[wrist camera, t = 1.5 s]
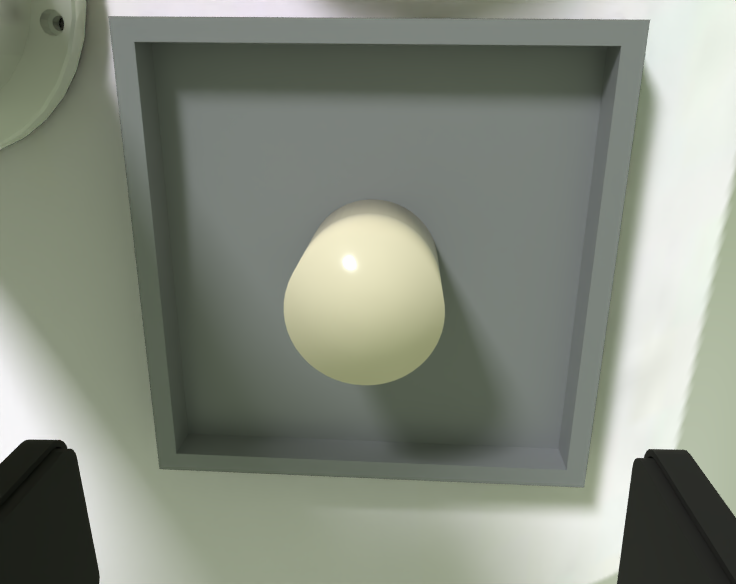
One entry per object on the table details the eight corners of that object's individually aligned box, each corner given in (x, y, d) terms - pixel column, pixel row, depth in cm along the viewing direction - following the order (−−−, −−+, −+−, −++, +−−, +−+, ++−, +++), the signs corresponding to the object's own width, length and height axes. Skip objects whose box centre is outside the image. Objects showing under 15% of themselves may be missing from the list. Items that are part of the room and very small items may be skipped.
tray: (571, 457, 29) (584, 487, 27) (176, 440, 30) (159, 468, 28) (628, 23, 23) (649, 19, 21) (134, 20, 24) (108, 16, 22)
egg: (373, 347, 27) (365, 413, 22) (281, 262, 26) (250, 311, 21) (465, 264, 26) (479, 314, 21) (372, 171, 25) (362, 199, 20)
